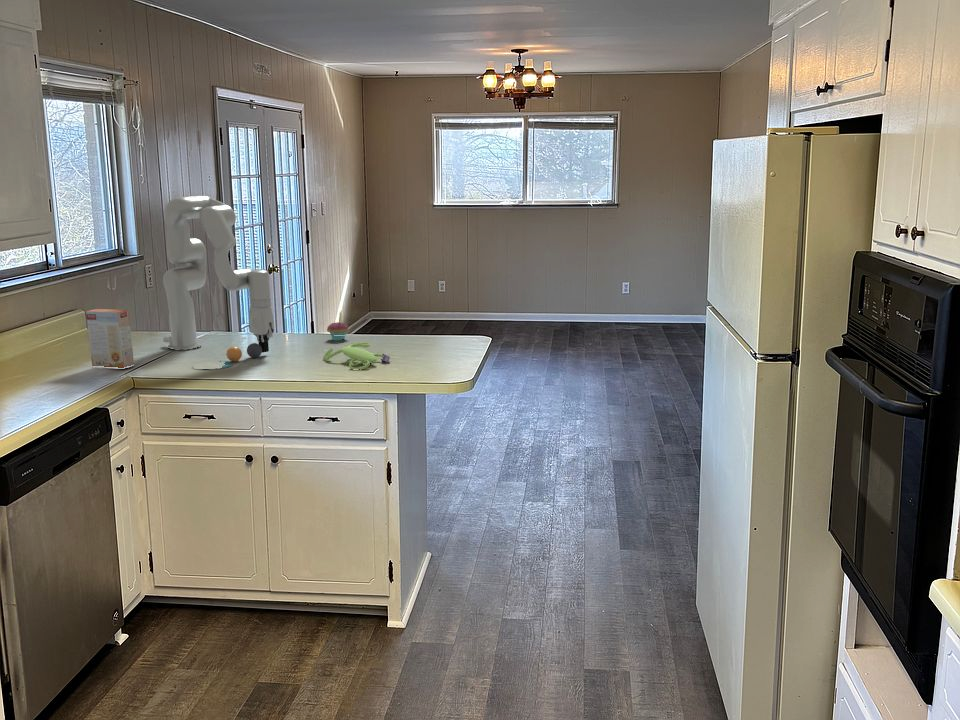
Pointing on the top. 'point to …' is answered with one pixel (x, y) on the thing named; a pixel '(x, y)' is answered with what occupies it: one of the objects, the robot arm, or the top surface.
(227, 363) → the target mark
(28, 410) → the top surface
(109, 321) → the cracker box
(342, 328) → the cupcake
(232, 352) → the object ball
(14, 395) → the top surface
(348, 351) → the figurine
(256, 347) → the dark gray ball
